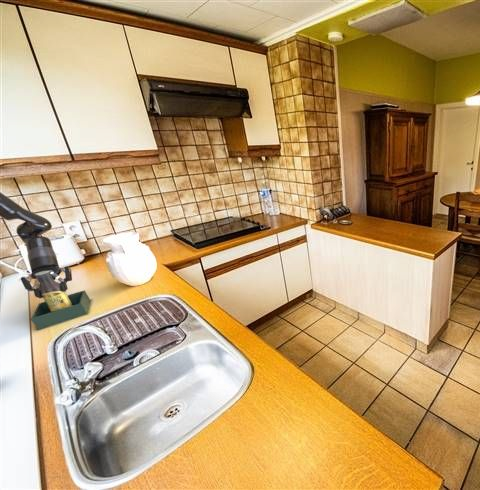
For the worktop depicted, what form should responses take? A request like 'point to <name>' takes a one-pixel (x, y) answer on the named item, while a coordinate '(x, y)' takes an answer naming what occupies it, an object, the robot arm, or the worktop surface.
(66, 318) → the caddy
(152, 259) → the pitcher
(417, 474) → the worktop surface
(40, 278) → the sauce bottle
